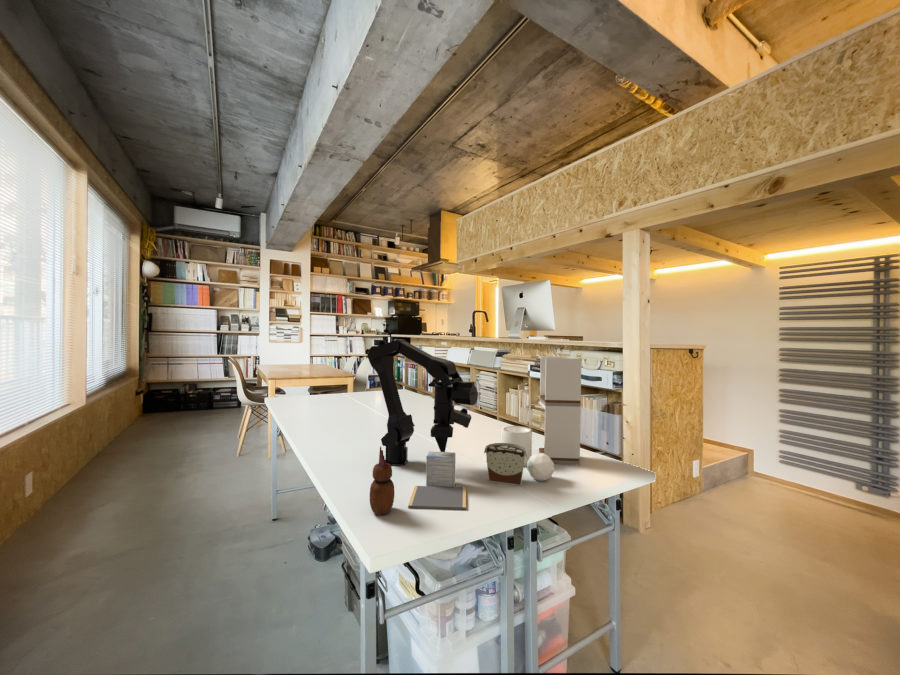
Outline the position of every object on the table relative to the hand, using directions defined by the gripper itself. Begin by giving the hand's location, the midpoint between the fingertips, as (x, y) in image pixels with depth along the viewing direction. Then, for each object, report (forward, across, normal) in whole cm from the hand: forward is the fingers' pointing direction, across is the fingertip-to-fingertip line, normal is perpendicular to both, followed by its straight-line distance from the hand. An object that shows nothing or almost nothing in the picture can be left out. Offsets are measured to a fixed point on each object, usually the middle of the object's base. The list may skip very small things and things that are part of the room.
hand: (442, 452), depth 115 cm
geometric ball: (+6, -3, -29) cm, 30 cm away
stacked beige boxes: (+6, +16, -39) cm, 43 cm away
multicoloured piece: (+6, -4, -19) cm, 20 cm away
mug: (+6, +14, -24) cm, 28 cm away
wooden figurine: (+6, -26, +13) cm, 30 cm away
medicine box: (+6, -9, 0) cm, 11 cm away
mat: (+6, -18, 0) cm, 19 cm away
